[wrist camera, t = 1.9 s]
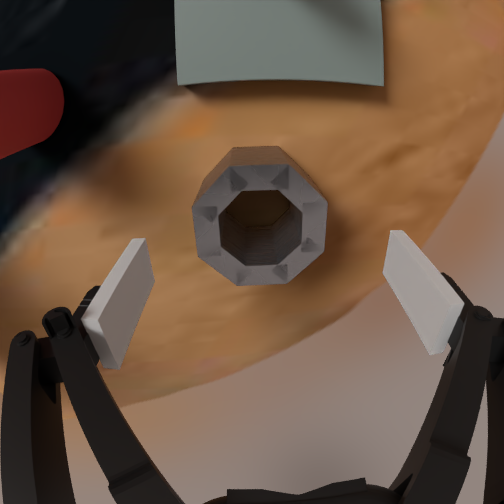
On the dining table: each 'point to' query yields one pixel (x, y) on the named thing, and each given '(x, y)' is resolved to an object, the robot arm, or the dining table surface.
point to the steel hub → (263, 237)
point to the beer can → (28, 108)
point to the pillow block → (279, 41)
